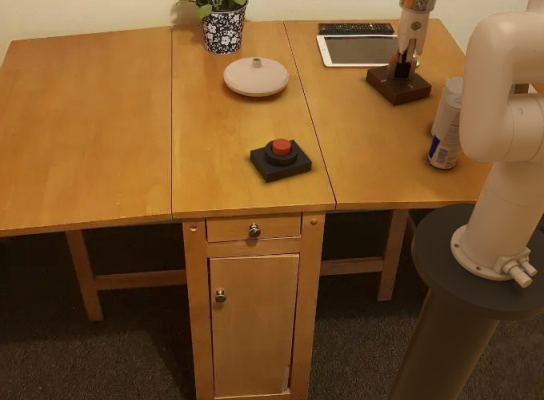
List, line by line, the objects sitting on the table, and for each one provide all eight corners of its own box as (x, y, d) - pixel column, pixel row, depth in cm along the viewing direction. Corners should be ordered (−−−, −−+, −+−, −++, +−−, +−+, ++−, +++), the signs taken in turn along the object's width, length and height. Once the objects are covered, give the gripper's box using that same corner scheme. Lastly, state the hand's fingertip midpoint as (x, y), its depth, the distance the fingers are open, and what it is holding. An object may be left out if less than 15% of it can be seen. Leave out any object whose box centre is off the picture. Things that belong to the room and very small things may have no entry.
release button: (285, 143, 118) (285, 136, 117) (293, 153, 116) (294, 146, 115) (269, 147, 117) (269, 140, 116) (277, 158, 115) (277, 151, 114)
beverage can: (460, 162, 120) (482, 100, 109) (446, 174, 117) (467, 112, 107) (436, 149, 123) (455, 88, 112) (421, 161, 120) (440, 100, 109)
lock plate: (429, 96, 138) (432, 84, 135) (393, 105, 135) (396, 94, 132) (399, 71, 146) (402, 60, 143) (365, 80, 143) (367, 68, 141)
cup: (465, 149, 123) (482, 101, 114) (426, 138, 126) (441, 90, 117) (473, 129, 128) (490, 82, 120) (436, 119, 131) (451, 72, 123)
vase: (280, 67, 147) (282, 41, 142) (294, 101, 136) (297, 75, 131) (219, 71, 146) (219, 45, 141) (228, 106, 134) (228, 80, 129)
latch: (411, 75, 138) (416, 56, 135) (412, 80, 137) (417, 60, 133) (386, 74, 139) (390, 54, 135) (386, 78, 138) (391, 58, 134)
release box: (292, 147, 123) (294, 132, 120) (311, 170, 118) (313, 154, 115) (249, 159, 120) (250, 143, 118) (266, 182, 115) (267, 167, 112)
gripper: (441, 16, 119) (420, 93, 131) (431, -15, 130) (413, 58, 143) (403, 14, 120) (386, 91, 132) (397, -17, 131) (382, 56, 144)
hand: (400, 73), depth 137 cm, fingers closed on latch, 2 cm apart
